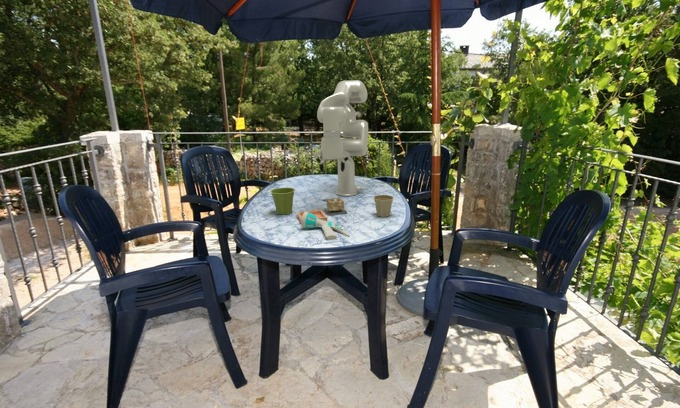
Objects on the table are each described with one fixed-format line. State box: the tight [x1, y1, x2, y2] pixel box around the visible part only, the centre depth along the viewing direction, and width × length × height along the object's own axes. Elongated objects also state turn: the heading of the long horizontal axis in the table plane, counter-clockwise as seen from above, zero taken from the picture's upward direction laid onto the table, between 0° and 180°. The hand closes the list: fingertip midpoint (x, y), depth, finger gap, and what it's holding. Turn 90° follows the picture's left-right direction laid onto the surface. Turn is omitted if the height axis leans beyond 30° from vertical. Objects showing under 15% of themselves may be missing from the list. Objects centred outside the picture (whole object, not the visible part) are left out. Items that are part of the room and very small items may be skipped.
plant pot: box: [270, 187, 296, 216], centre depth 168 cm, size 12×12×11 cm
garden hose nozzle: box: [300, 211, 351, 241], centre depth 144 cm, size 7×18×20 cm
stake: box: [323, 197, 348, 216], centre depth 169 cm, size 9×9×6 cm
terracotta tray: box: [296, 209, 328, 223], centre depth 159 cm, size 12×12×2 cm
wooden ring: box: [325, 197, 345, 211], centre depth 168 cm, size 7×7×4 cm
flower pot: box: [373, 194, 395, 218], centre depth 162 cm, size 9×9×9 cm
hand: (332, 171), depth 165 cm, fingers open, 9 cm apart
